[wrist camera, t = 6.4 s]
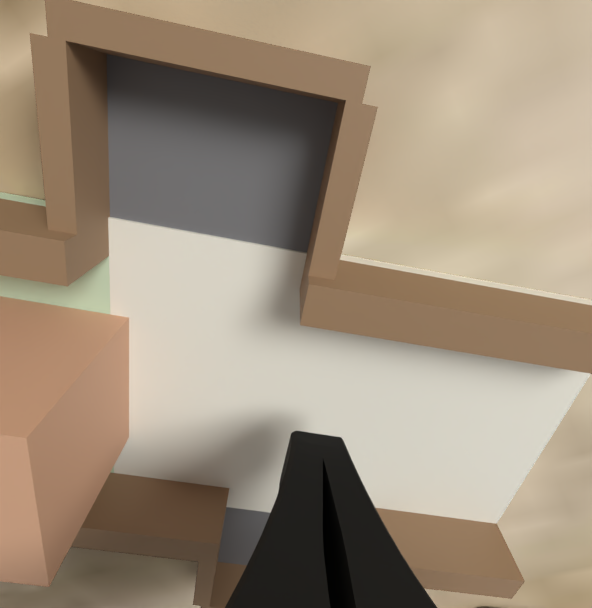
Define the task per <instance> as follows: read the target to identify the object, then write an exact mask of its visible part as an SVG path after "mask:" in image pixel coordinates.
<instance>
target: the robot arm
mask: <svg viewBox="0 0 592 608" xmlns="http://www.w3.org/2000/svg"><path fill="white" fill-rule="evenodd" d="M225 608H437V607H436V605H435V604H434V603H433V601H432V600H431V598H430V597H429V595H428V594H427V592H426V591H425V589H424V588H423V586H422V585H421V583H420V582H419V580H418V579H417V578H416V576H415V574H414V573H413V571H412V570H411V568H410V567H409V565H408V563H407V562H406V560H405V559H404V557H403V555H402V554H401V552H400V550H399V549H398V547H397V545H396V544H395V542H394V540H393V539H392V537H391V535H390V534H389V532H388V530H387V528H386V526H385V525H384V523H383V521H382V519H381V517H380V516H379V514H378V512H377V510H376V508H375V506H374V504H373V502H372V500H371V499H370V497H369V495H368V493H367V491H366V489H365V487H364V485H363V483H362V481H361V479H360V476H359V474H358V472H357V470H356V468H355V466H354V464H353V461H352V459H351V457H350V455H349V452H348V450H347V448H346V445H345V443H344V441H343V439H342V438H341V437H336V436H329V435H323V434H316V433H309V432H303V431H294V432H292V433H291V436H290V440H289V444H288V448H287V452H286V457H285V461H284V465H283V469H282V473H281V478H280V483H279V491H278V495H277V498H276V500H275V503H274V506H273V508H272V510H271V513H270V515H269V518H268V520H267V523H266V525H265V527H264V530H263V532H262V534H261V537H260V539H259V541H258V543H257V545H256V548H255V550H254V552H253V554H252V556H251V558H250V560H249V562H248V564H247V566H246V568H245V570H244V572H243V574H242V576H241V578H240V580H239V582H238V584H237V586H236V587H235V589H234V591H233V593H232V595H231V597H230V599H229V601H228V603H227V604H226V606H225Z"/></svg>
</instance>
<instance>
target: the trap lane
mask: <svg viewBox="0 0 592 608" xmlns="http://www.w3.org/2000/svg"><path fill="white" fill-rule="evenodd" d="M45 7H46V21H47V34H48V37H46V36H41V35H37V34H32V33H30V41H31V52H32V63H33V73H34V84H35V95H36V106H37V117H38V128H39V138H40V149H41V160H42V171H43V182H44V193H45V200H41V199H35V198H30V197H24V196H19V195H13V194H8V193H2V192H0V296H2V297H8V298H14V299H20V300H26V301H32V302H38V303H44V304H50V305H57V306H63V307H69V308H75V309H81V310H87V311H93V312H99V313H105V314H111V315H117V316H123V317H129V438H128V440H127V442H126V444H125V446H124V448H123V450H122V451H121V453H120V455H119V457H118V459H117V461H116V463H115V465H114V466H113V468H112V470H111V472H110V474H109V476H108V478H107V479H106V481H105V483H104V485H103V487H102V489H101V491H100V493H99V494H98V496H97V498H96V500H95V502H94V504H93V506H92V508H91V509H90V511H89V513H88V515H87V517H86V519H85V521H84V523H83V524H82V526H81V528H80V530H79V532H78V534H77V536H76V538H75V539H74V541H73V543H72V545H71V547H78V548H86V549H95V550H103V551H112V552H120V553H129V554H137V555H146V556H154V557H163V558H171V559H180V560H188V561H197V562H198V570H197V577H196V585H195V593H194V601H193V605H199V606H201V608H225V606H226V604H227V603H228V601H229V599H230V597H231V595H232V593H233V591H234V589H235V587H236V586H237V584H238V582H239V580H240V578H241V576H242V574H243V572H244V570H245V568H246V566H247V564H248V562H249V560H250V558H251V556H252V554H253V552H254V550H255V548H256V545H257V543H258V541H259V539H260V537H261V534H262V532H263V530H264V527H265V525H266V523H267V520H268V518H269V515H270V513H271V510H272V508H273V506H274V503H275V500H276V498H277V495H278V491H279V483H280V478H281V473H282V469H283V465H284V461H285V457H286V452H287V448H288V444H289V440H290V436H291V433H292V432H294V431H303V432H309V433H316V434H323V435H329V436H336V437H341V438H342V439H343V441H344V443H345V445H346V448H347V450H348V452H349V455H350V457H351V459H352V461H353V464H354V466H355V468H356V470H357V472H358V474H359V476H360V479H361V481H362V483H363V485H364V487H365V489H366V491H367V493H368V495H369V497H370V499H371V500H372V502H373V504H374V506H375V508H376V510H377V512H378V514H379V516H380V517H381V519H382V521H383V523H384V525H385V526H386V528H387V530H388V532H389V534H390V535H391V537H392V539H393V540H394V542H395V544H396V545H397V547H398V549H399V550H400V552H401V554H402V555H403V557H404V559H405V560H406V562H407V563H408V565H409V567H410V568H411V570H412V571H413V573H414V574H415V576H416V578H417V579H418V580H419V582H420V583H421V585H422V586H423V588H426V589H434V590H443V591H451V592H460V593H468V594H477V595H485V596H493V597H502V598H510V599H512V598H513V596H514V595H515V594H516V592H517V591H518V590H519V588H520V587H521V586H522V584H523V583H524V582H525V581H524V579H523V577H522V575H521V573H520V571H519V569H518V567H517V565H516V563H515V561H514V558H513V556H512V554H511V552H510V550H509V548H508V546H507V544H506V542H505V540H504V538H503V536H502V534H501V532H500V530H499V528H498V526H497V522H498V521H499V519H500V517H501V516H502V514H503V513H504V511H505V510H506V508H507V506H508V505H509V503H510V502H511V500H512V498H513V497H514V495H515V494H516V492H517V490H518V489H519V487H520V486H521V484H522V483H523V481H524V479H525V478H526V476H527V475H528V473H529V471H530V470H531V468H532V467H533V465H534V463H535V462H536V460H537V459H538V457H539V455H540V454H541V452H542V451H543V449H544V448H545V446H546V444H547V443H548V441H549V440H550V438H551V436H552V435H553V433H554V432H555V430H556V428H557V427H558V425H559V424H560V422H561V420H562V419H563V417H564V416H565V414H566V413H567V411H568V409H569V408H570V406H571V405H572V403H573V401H574V400H575V398H576V397H577V395H578V393H579V392H580V390H581V389H582V387H583V385H584V384H585V382H586V381H587V379H588V378H589V376H590V374H592V300H590V299H585V298H579V297H574V296H568V295H563V294H557V293H552V292H546V291H541V290H535V289H530V288H524V287H519V286H513V285H508V284H502V283H497V282H491V281H486V280H480V279H475V278H469V277H464V276H458V275H453V274H447V273H442V272H436V271H431V270H425V269H420V268H414V267H409V266H403V265H398V264H392V263H387V262H381V261H376V260H370V259H365V258H359V257H354V256H348V255H343V254H341V253H342V249H343V245H344V241H345V237H346V233H347V229H348V225H349V221H350V217H351V213H352V209H353V205H354V201H355V197H356V193H357V189H358V185H359V181H360V176H361V172H362V168H363V164H364V160H365V156H366V152H367V148H368V144H369V140H370V136H371V132H372V128H373V124H374V120H375V116H376V112H377V108H378V107H375V106H370V105H366V104H362V101H363V97H364V93H365V88H366V84H367V80H368V75H369V71H370V67H371V66H367V65H362V64H358V63H353V62H349V61H344V60H340V59H335V58H331V57H326V56H322V55H317V54H313V53H308V52H304V51H299V50H294V49H290V48H285V47H281V46H276V45H272V44H267V43H263V42H258V41H254V40H249V39H245V38H240V37H236V36H231V35H226V34H222V33H217V32H213V31H208V30H204V29H199V28H195V27H190V26H186V25H181V24H177V23H172V22H168V21H163V20H158V19H154V18H149V17H145V16H140V15H136V14H131V13H127V12H122V11H118V10H113V9H109V8H104V7H100V6H95V5H90V4H86V3H81V2H77V1H72V0H45Z"/></svg>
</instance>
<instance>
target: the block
mask: <svg viewBox="0 0 592 608" xmlns="http://www.w3.org/2000/svg"><path fill="white" fill-rule="evenodd" d="M128 438H129V317H123V316H117V315H111V314H105V313H99V312H93V311H87V310H81V309H75V308H69V307H63V306H57V305H50V304H44V303H38V302H32V301H26V300H20V299H14V298H8V297H2V296H0V581H2V582H11V583H19V584H28V585H37V586H45V587H49V586H50V584H51V582H52V581H53V579H54V577H55V575H56V573H57V571H58V569H59V567H60V566H61V564H62V562H63V560H64V558H65V556H66V554H67V553H68V551H69V549H70V547H71V545H72V543H73V541H74V539H75V538H76V536H77V534H78V532H79V530H80V528H81V526H82V524H83V523H84V521H85V519H86V517H87V515H88V513H89V511H90V509H91V508H92V506H93V504H94V502H95V500H96V498H97V496H98V494H99V493H100V491H101V489H102V487H103V485H104V483H105V481H106V479H107V478H108V476H109V474H110V472H111V470H112V468H113V466H114V465H115V463H116V461H117V459H118V457H119V455H120V453H121V451H122V450H123V448H124V446H125V444H126V442H127V440H128Z"/></svg>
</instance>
